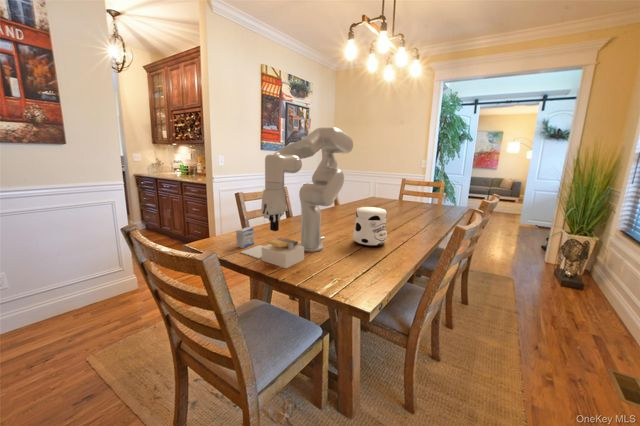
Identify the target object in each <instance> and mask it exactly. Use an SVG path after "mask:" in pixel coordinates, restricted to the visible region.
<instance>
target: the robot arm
mask: <svg viewBox="0 0 640 426" xmlns="http://www.w3.org/2000/svg"><path fill="white" fill-rule="evenodd" d="M353 141H354V140H353V138H352V137H351V136H350V135H349V134H347V133H345V132H344V131H342V130H341V129H340V128H338V127H318V128H316V129H314V130H313V131H311V132H310V133H309V134H307V135H306V136H305V137H303V138H302V139H299V140H297V141H295V142H293V143H290V144H287V145H285V146H283V147H281V148H279V150H277V151H275V152H274V153H273V154H267V155H265V157H264V189H263V192H262V195H261V196H262V197H261V214H263V219H268V221H269V222H270V223H269V227H270V229H269V230H270V231H272V232H277V231H279V222H280V221H281V217H282V216H283V215H285V213H286V211H287V210H286V209H287V199H286V191H285V185H286V184H285V174H296V173H298V172H300V170H301V169H302V166H303V162H302V159H307V158H308V159H309V158H311V157H313V156H314V155H315V154H316V153H318V152H319V151H320V150H321V161H320V163H319V164H318V166H317V167H316V169H315V170H314V172H313V174H312V176H311V182H312V183H306V184H304V185H302V186H301V187H300V189H299V194H298V195H299V196H298V197H299V202H300V212H301V213H300V214H301V215H300V219H301V220H300V223H301V224H300V242H298V244H297V245H299V246H303V247H304V252H311V253H312V252H313V253H315V252H319V251H321V250H323V249H324V245H323V243H322V241H325V236H324V235H323V236H321V225H322V224H321V223H322V220H321V219H322V212H321V209H320V206H321V207H331V206H332V205H333V203H334V202H335V200H336V199H337V197H338V196H339V193H340V191H341V190H342V188H343V186H344V183H345V174H344V172H343V171H342V170H341V169H339V168H338V160H337V159H336V157H335V154H343V155H344V154H349V153H351V152H352V151H353V148H354V142H353Z"/></svg>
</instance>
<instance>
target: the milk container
mask: <svg viewBox="0 0 640 426" xmlns="http://www.w3.org/2000/svg"><path fill="white" fill-rule="evenodd" d="M387 215H388V214H387V210H386V209H384V208H381V207H372V206H361V207H357V208H356V212H355V225H354V229H353V231H352V234H353V235H352V236H353V240H354V243H355V242H356V243H357V244H359V245H361V246H366V247H379V246H380V247H381V246H382V245H384V244H385V243H386V241H387V237H388V233H387V229H386V225H387Z"/></svg>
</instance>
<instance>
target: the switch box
mask: <svg viewBox="0 0 640 426" xmlns="http://www.w3.org/2000/svg"><path fill="white" fill-rule="evenodd" d="M278 239H279V238H273V239H272V240H278ZM262 246H263V247H262V258H261V261H263V262H266V263H269V264H272V265H275V266H277V267H280V268H284V269H288V268H290V267H292V266H294V265H296V264H298V263H301V262H302V261H304V260H305V251H304V247H303V246H299V245H298V244H297V245H293V243H289V244H288V247H286V246H284V247H277V246H274V245H270V244H267V245H262Z"/></svg>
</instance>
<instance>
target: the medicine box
mask: <svg viewBox="0 0 640 426" xmlns="http://www.w3.org/2000/svg"><path fill="white" fill-rule="evenodd" d="M235 232H236V235H235V236H236V248H239V247H240V249H247V248H248V247H250V246H252V245H255V238H254V227H251V226H245V227H243V228H240V229H238V230H235Z"/></svg>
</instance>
